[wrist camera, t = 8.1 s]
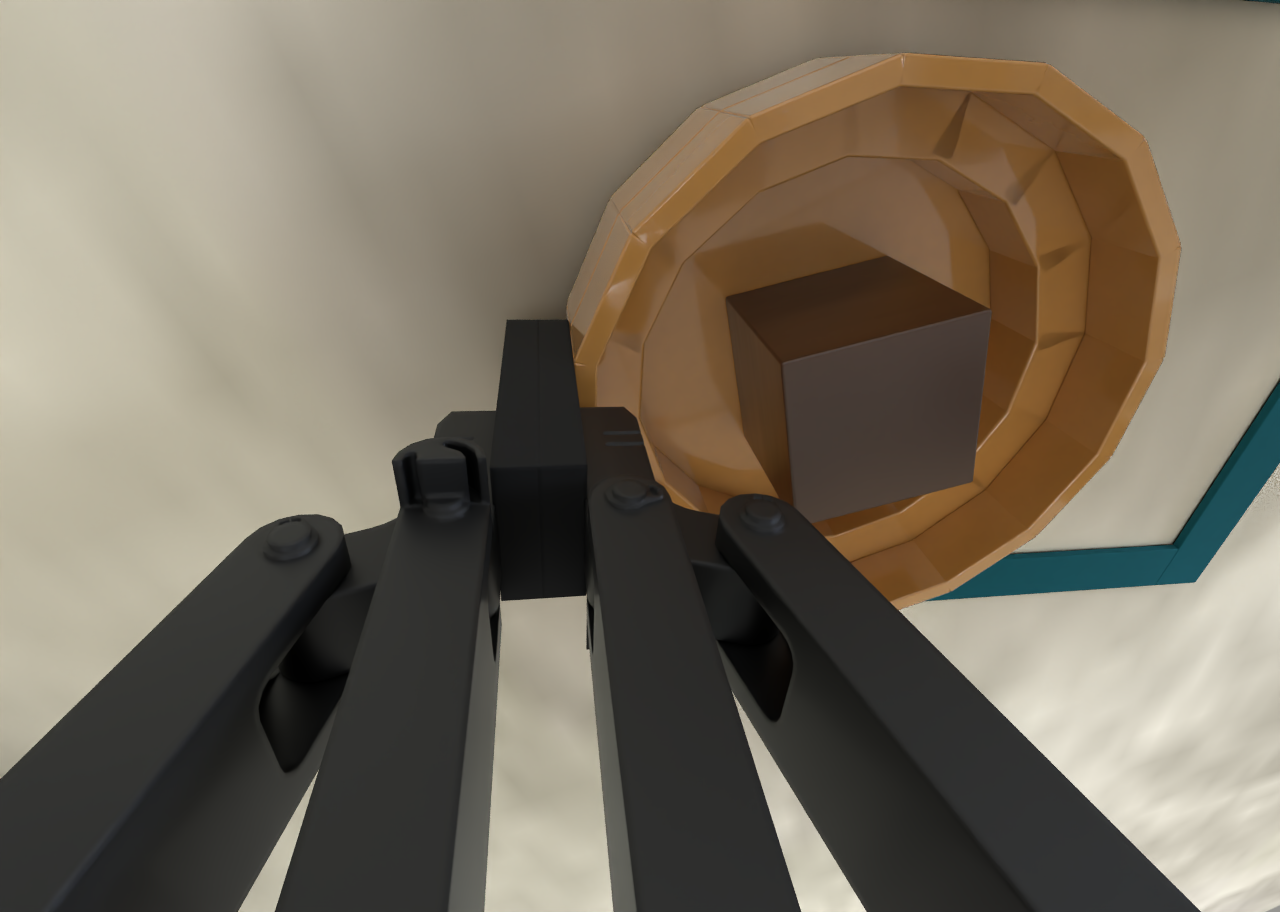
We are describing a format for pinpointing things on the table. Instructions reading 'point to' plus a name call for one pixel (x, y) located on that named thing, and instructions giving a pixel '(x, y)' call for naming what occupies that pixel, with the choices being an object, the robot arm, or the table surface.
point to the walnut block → (860, 385)
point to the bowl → (914, 235)
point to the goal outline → (1239, 482)
